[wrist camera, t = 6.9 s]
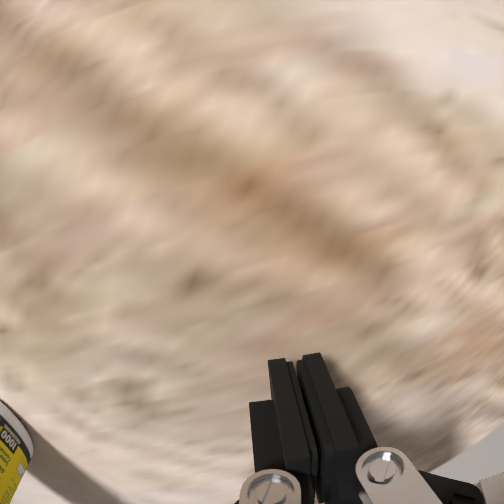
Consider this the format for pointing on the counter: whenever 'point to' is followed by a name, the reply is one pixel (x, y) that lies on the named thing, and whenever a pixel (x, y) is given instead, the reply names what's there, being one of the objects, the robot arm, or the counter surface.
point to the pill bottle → (12, 453)
